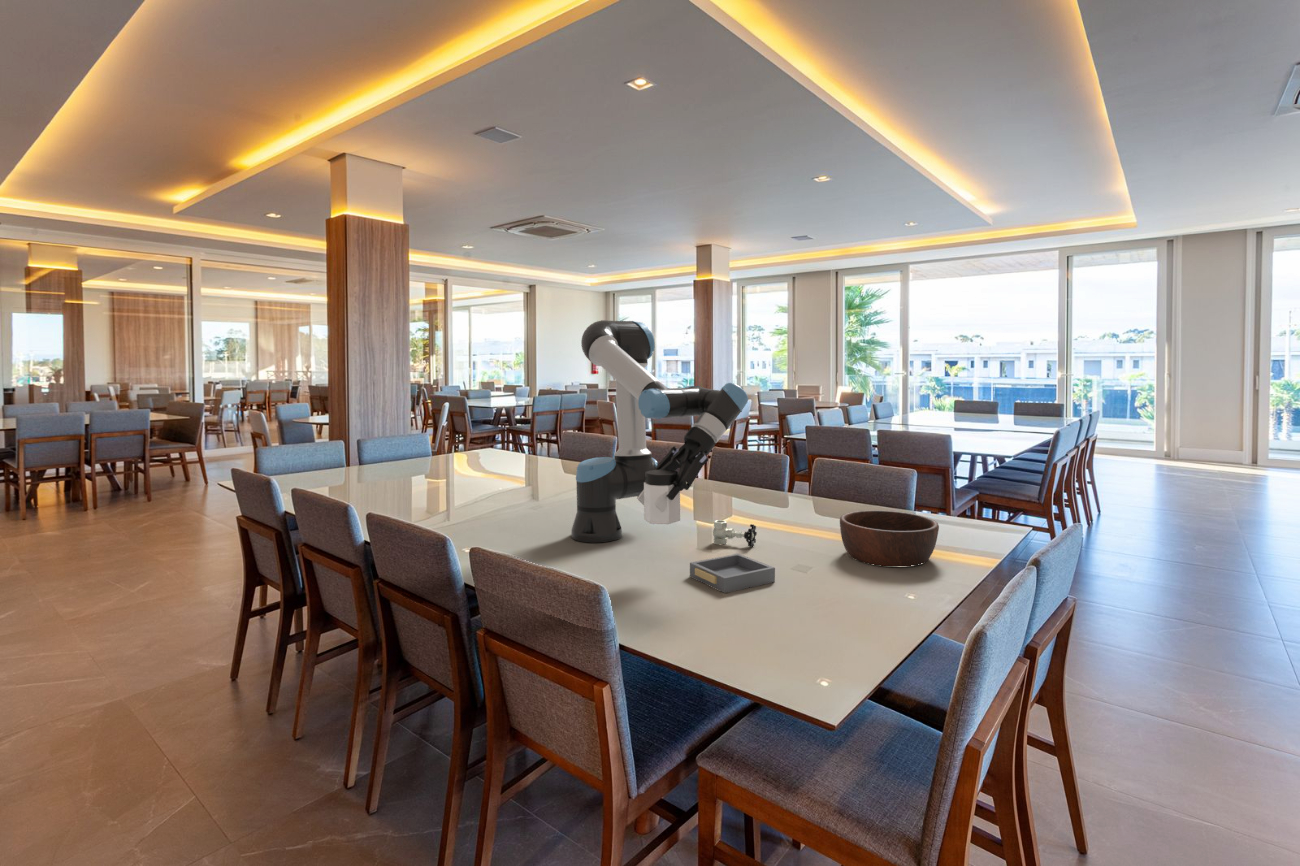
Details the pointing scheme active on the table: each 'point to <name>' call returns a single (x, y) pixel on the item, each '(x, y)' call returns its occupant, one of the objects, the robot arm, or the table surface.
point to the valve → (732, 533)
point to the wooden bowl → (888, 537)
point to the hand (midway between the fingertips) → (649, 505)
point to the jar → (653, 490)
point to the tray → (732, 572)
